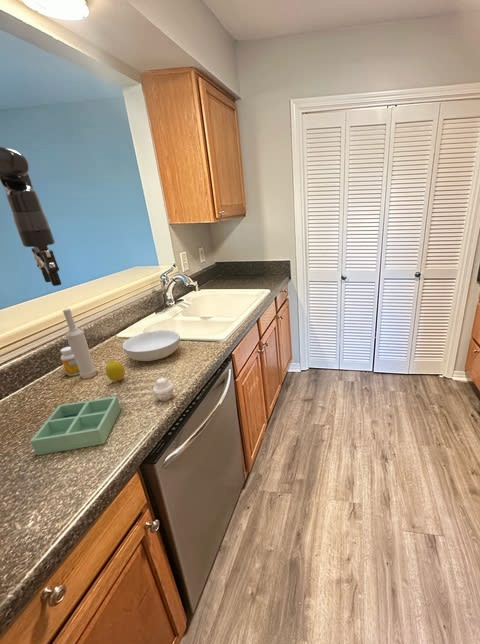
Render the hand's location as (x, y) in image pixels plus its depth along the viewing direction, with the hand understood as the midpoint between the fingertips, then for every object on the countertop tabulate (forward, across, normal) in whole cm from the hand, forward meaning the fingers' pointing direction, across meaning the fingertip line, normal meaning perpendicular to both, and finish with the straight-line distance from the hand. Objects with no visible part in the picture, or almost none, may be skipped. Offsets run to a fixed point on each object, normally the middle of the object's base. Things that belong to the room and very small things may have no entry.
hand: (53, 283), depth 100 cm
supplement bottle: (+35, -11, -1) cm, 37 cm away
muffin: (+35, +33, +12) cm, 50 cm away
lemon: (+35, +10, +7) cm, 37 cm away
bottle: (+35, -4, +2) cm, 35 cm away
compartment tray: (+35, +30, -10) cm, 47 cm away
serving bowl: (+35, 0, +24) cm, 43 cm away
